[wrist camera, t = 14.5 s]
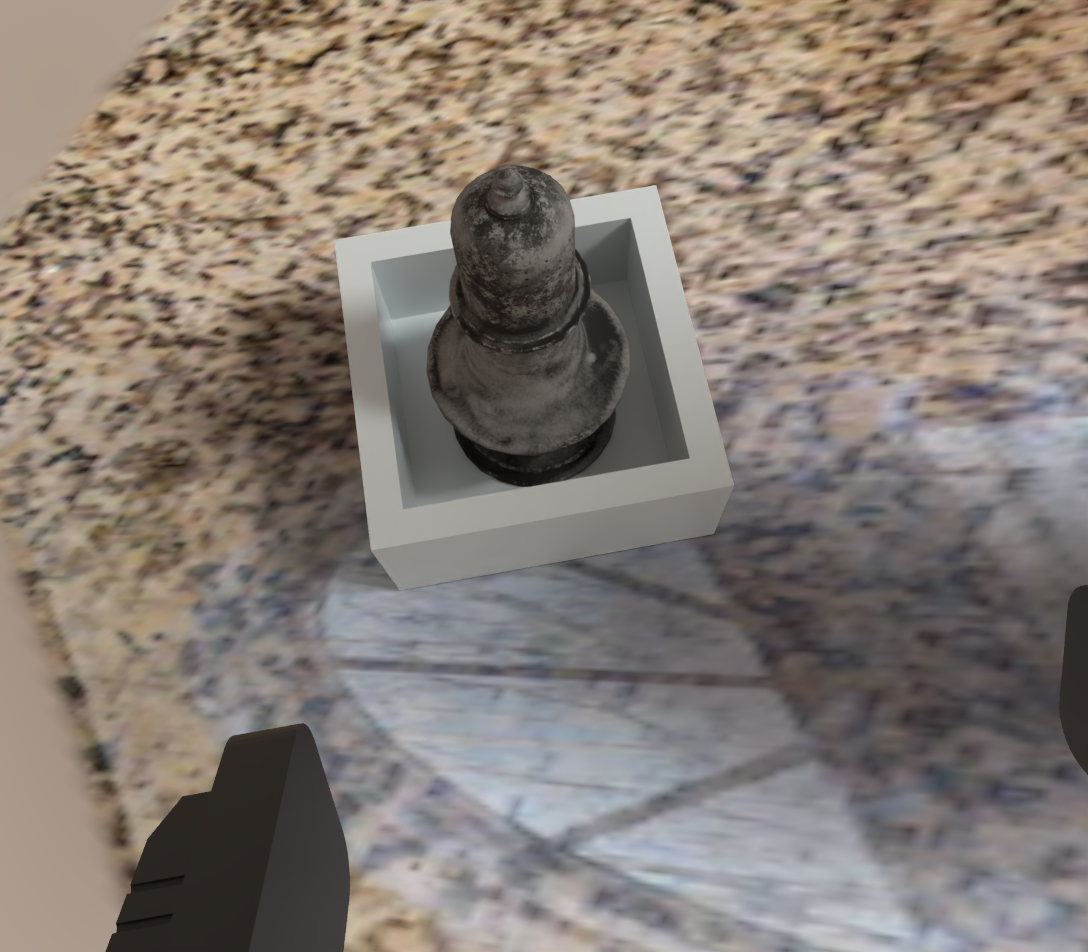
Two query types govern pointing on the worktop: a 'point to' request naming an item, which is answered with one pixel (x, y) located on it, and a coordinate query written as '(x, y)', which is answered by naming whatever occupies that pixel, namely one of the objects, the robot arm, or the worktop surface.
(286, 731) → the robot arm
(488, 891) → the worktop surface
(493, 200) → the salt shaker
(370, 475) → the sleeve
